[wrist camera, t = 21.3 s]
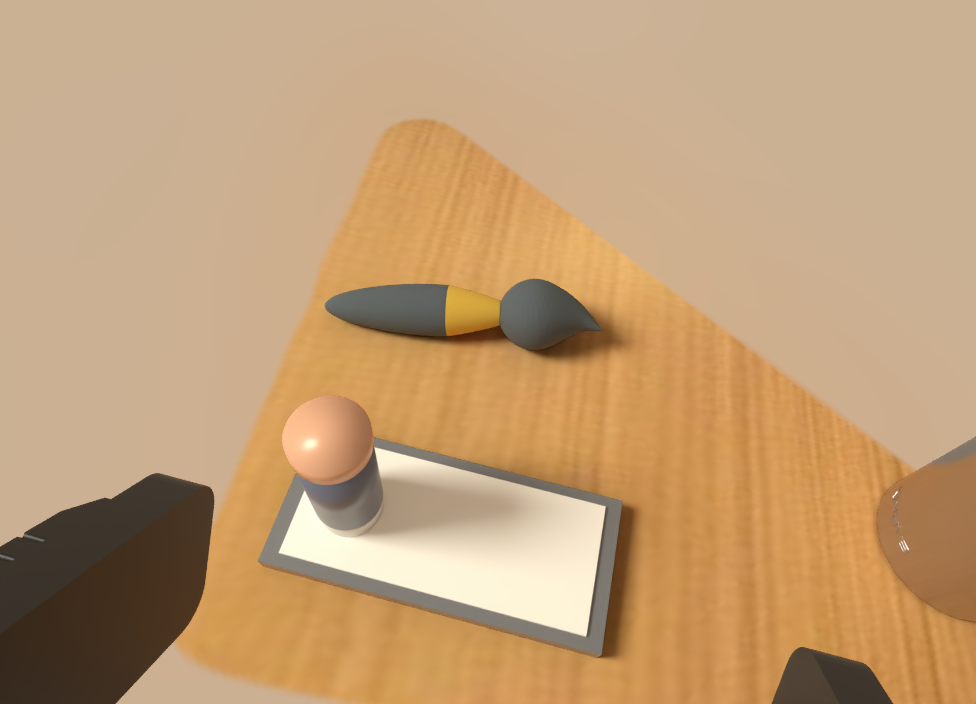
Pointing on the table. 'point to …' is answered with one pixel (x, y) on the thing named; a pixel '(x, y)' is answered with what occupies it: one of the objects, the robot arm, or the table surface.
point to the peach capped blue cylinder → (336, 463)
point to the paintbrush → (468, 311)
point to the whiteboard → (467, 547)
